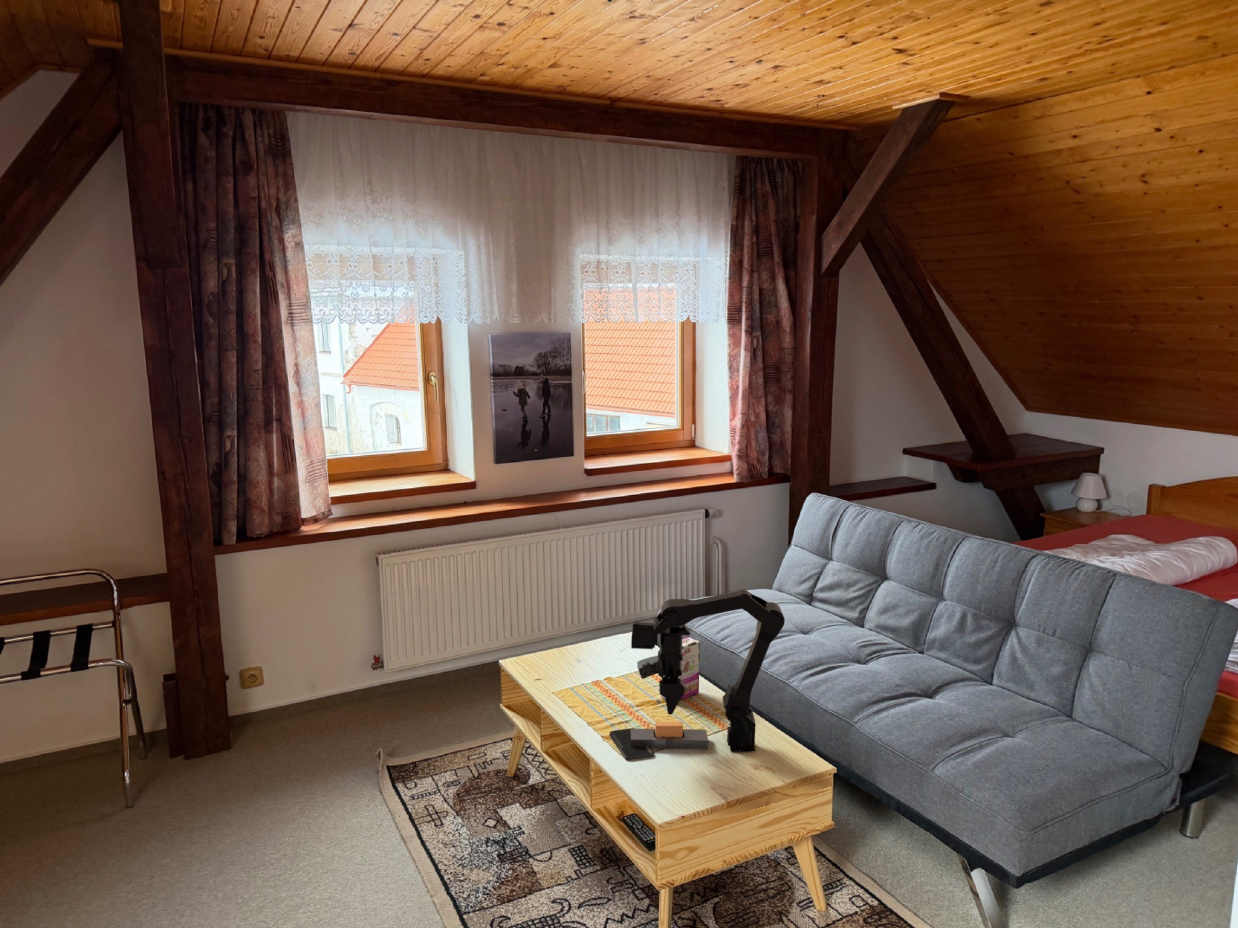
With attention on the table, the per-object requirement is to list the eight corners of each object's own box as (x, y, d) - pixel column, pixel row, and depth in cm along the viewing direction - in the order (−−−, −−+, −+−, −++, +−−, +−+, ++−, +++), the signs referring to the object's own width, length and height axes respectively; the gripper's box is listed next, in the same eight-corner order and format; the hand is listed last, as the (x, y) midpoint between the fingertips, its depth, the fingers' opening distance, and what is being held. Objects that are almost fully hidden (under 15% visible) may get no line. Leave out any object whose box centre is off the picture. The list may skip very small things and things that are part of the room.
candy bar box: (687, 687, 268) (689, 635, 266) (699, 693, 265) (701, 641, 262) (659, 697, 261) (661, 644, 259) (671, 703, 258) (673, 649, 255)
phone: (636, 727, 241) (655, 753, 227) (635, 731, 242) (655, 757, 227) (608, 731, 239) (625, 758, 225) (608, 735, 239) (625, 762, 225)
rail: (705, 738, 238) (705, 729, 237) (708, 749, 232) (708, 740, 231) (630, 737, 237) (630, 728, 237) (630, 748, 231) (630, 739, 231)
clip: (681, 741, 236) (682, 721, 235) (682, 745, 233) (682, 725, 232) (654, 740, 236) (655, 721, 235) (655, 745, 233) (655, 725, 232)
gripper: (638, 635, 239) (637, 690, 242) (640, 663, 221) (638, 722, 223) (680, 636, 239) (678, 690, 242) (685, 663, 221) (683, 722, 223)
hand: (668, 706), depth 233 cm, fingers open, 9 cm apart
